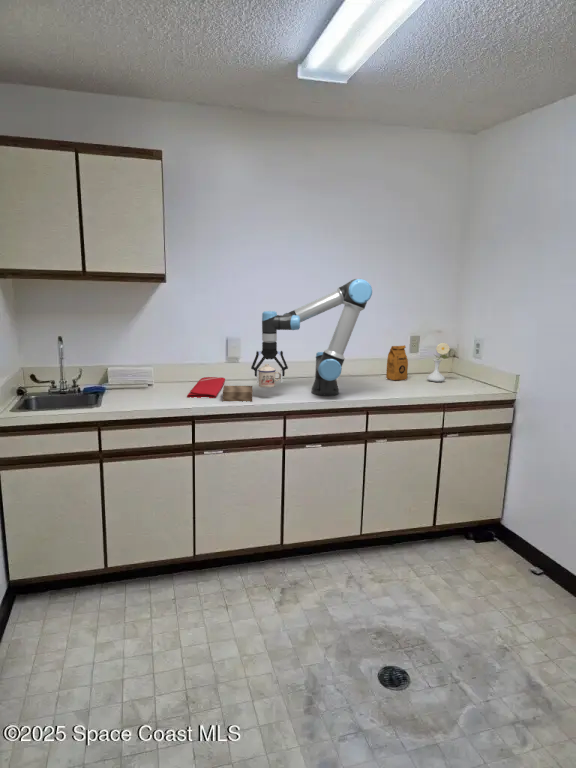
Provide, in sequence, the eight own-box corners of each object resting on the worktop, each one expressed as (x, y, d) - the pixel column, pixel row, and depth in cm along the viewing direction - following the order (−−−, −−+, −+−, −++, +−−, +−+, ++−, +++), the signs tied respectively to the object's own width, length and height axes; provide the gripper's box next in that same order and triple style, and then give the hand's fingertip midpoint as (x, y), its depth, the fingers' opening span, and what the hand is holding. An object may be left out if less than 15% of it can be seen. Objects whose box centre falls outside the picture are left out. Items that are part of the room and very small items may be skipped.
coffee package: (409, 380, 325) (411, 346, 321) (393, 381, 320) (395, 346, 316) (399, 377, 334) (402, 344, 330) (383, 378, 329) (386, 344, 325)
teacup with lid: (260, 388, 263) (260, 366, 261) (256, 384, 272) (256, 363, 269) (282, 387, 266) (282, 365, 264) (278, 383, 275) (278, 362, 272)
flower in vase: (423, 381, 325) (426, 342, 320) (430, 378, 334) (433, 340, 329) (443, 384, 317) (447, 344, 312) (450, 381, 326) (453, 342, 321)
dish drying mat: (186, 398, 266) (186, 391, 265) (199, 382, 306) (199, 376, 305) (216, 399, 266) (216, 392, 265) (225, 383, 306) (225, 377, 305)
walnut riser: (252, 395, 275) (252, 385, 274) (252, 401, 260) (252, 392, 259) (224, 394, 274) (224, 385, 273) (222, 401, 259) (222, 391, 258)
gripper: (292, 340, 269) (291, 380, 273) (246, 340, 267) (246, 381, 271) (293, 342, 261) (293, 383, 266) (246, 342, 259) (246, 384, 264)
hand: (269, 382), depth 269 cm, fingers closed on teacup with lid, 12 cm apart
